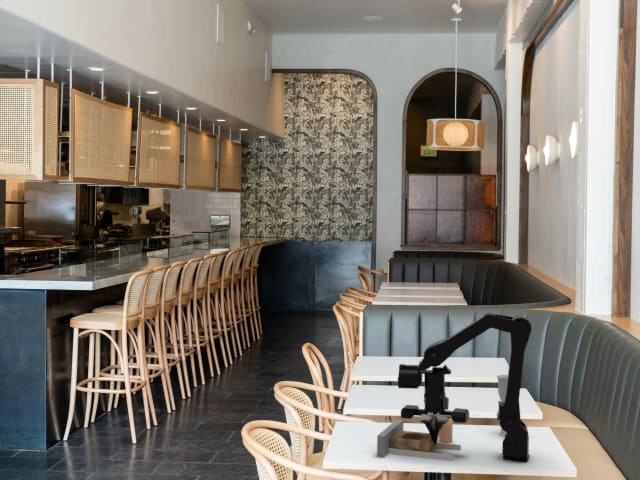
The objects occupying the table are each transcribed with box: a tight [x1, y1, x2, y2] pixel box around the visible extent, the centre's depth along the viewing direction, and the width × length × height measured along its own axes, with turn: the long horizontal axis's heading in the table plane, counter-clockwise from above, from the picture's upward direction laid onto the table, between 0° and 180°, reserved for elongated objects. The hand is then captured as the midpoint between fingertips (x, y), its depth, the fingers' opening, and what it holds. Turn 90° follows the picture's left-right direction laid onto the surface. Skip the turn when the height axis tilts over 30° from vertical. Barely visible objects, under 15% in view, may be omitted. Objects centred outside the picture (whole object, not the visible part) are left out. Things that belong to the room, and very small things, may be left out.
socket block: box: [390, 430, 437, 453], centre depth 232 cm, size 11×10×4 cm
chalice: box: [496, 374, 508, 438], centre depth 249 cm, size 7×7×18 cm
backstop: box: [376, 419, 462, 462], centre depth 231 cm, size 20×20×6 cm
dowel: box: [438, 409, 454, 444], centre depth 241 cm, size 4×4×9 cm
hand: (435, 443), depth 229 cm, fingers closed
